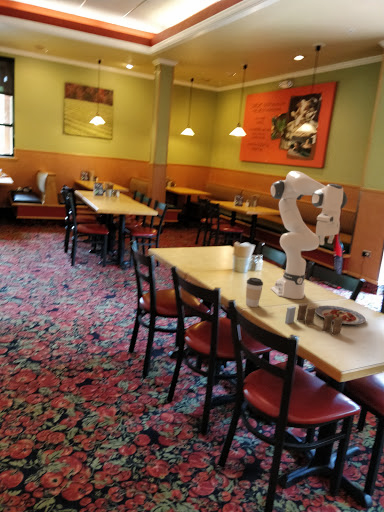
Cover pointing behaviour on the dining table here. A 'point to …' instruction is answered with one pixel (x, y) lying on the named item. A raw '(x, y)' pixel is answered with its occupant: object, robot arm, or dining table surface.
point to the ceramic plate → (341, 314)
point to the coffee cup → (253, 291)
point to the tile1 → (302, 312)
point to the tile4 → (327, 322)
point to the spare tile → (290, 314)
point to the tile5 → (337, 326)
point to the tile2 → (310, 315)
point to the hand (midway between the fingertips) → (325, 243)
